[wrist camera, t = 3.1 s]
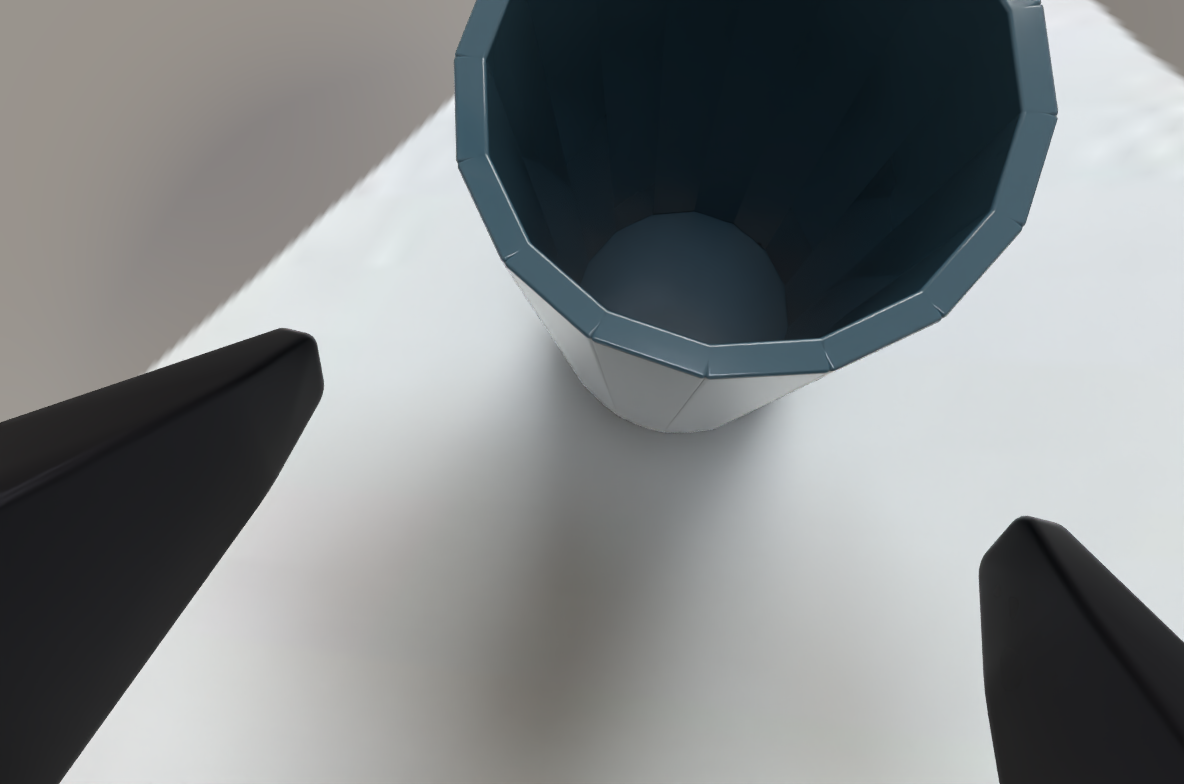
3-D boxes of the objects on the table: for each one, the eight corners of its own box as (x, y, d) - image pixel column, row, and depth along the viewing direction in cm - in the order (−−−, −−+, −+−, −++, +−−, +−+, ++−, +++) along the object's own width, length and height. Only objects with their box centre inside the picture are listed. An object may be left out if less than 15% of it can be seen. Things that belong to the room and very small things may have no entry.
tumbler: (751, 465, 19) (954, 464, 7) (533, 389, 19) (368, 265, 7) (823, 250, 19) (1127, -101, 7) (609, 182, 20) (568, -237, 8)
